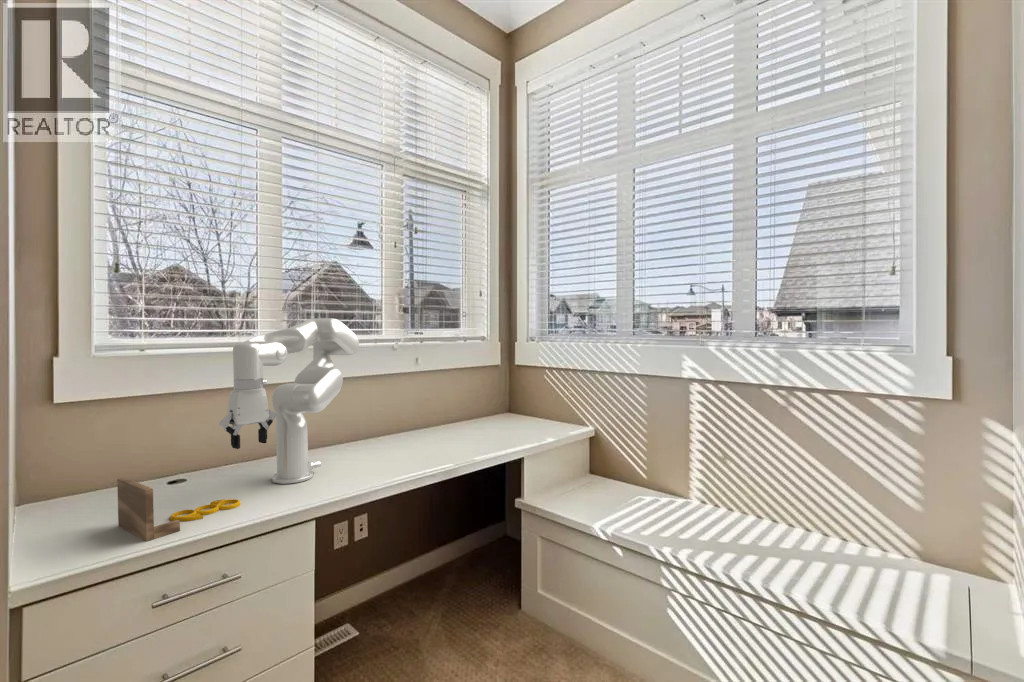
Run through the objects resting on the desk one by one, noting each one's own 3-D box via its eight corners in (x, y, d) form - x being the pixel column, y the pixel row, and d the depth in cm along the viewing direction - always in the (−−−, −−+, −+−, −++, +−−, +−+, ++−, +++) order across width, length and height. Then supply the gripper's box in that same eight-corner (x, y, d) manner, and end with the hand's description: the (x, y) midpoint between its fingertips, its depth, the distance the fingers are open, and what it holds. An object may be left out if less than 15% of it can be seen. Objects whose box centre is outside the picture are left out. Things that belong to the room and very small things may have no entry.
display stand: (150, 517, 128) (149, 472, 128) (180, 530, 119) (179, 482, 119) (118, 526, 122) (117, 479, 122) (146, 541, 113) (145, 490, 113)
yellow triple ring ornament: (246, 509, 134) (234, 500, 141) (246, 503, 134) (234, 495, 141) (174, 527, 122) (166, 516, 129) (174, 521, 122) (166, 511, 129)
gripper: (269, 381, 151) (270, 438, 151) (210, 387, 136) (211, 450, 136) (283, 382, 146) (284, 441, 147) (224, 389, 132) (225, 453, 132)
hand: (249, 444), depth 142 cm, fingers open, 7 cm apart
